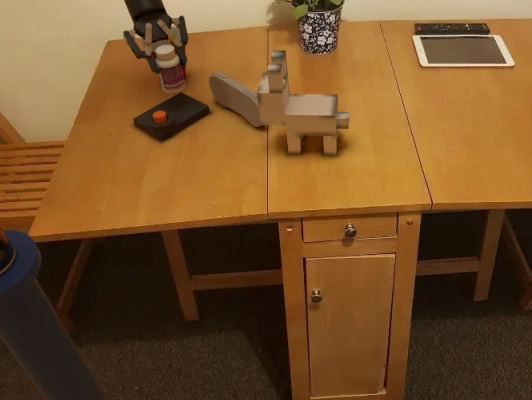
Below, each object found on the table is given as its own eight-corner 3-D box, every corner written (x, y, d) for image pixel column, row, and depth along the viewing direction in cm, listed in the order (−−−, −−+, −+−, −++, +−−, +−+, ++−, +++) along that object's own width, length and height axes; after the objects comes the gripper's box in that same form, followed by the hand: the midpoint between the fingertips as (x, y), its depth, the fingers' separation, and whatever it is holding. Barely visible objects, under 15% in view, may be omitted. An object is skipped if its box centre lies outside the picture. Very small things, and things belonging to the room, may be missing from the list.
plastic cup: (150, 94, 142) (137, 49, 134) (155, 71, 150) (143, 28, 141) (194, 90, 142) (184, 45, 134) (197, 67, 150) (188, 24, 142)
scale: (161, 143, 127) (158, 130, 125) (133, 126, 132) (129, 113, 130) (211, 113, 135) (208, 100, 132) (182, 98, 140) (179, 85, 137)
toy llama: (348, 155, 121) (346, 70, 107) (265, 153, 123) (253, 70, 109) (350, 134, 126) (349, 50, 113) (270, 132, 128) (260, 50, 115)
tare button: (159, 126, 126) (157, 119, 125) (151, 121, 128) (149, 114, 126) (169, 120, 128) (168, 113, 127) (162, 115, 129) (160, 109, 128)
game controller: (271, 128, 129) (267, 96, 124) (263, 133, 128) (259, 101, 122) (219, 95, 140) (213, 65, 134) (211, 99, 139) (205, 69, 133)
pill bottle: (190, 85, 132) (182, 46, 125) (174, 96, 129) (164, 57, 122) (173, 79, 134) (164, 40, 127) (157, 89, 131) (146, 51, 124)
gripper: (171, -5, 132) (200, 65, 132) (108, 11, 127) (138, 84, 127) (174, -20, 125) (204, 54, 125) (108, -3, 120) (139, 73, 120)
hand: (171, 69), depth 126 cm, fingers closed on pill bottle, 5 cm apart
